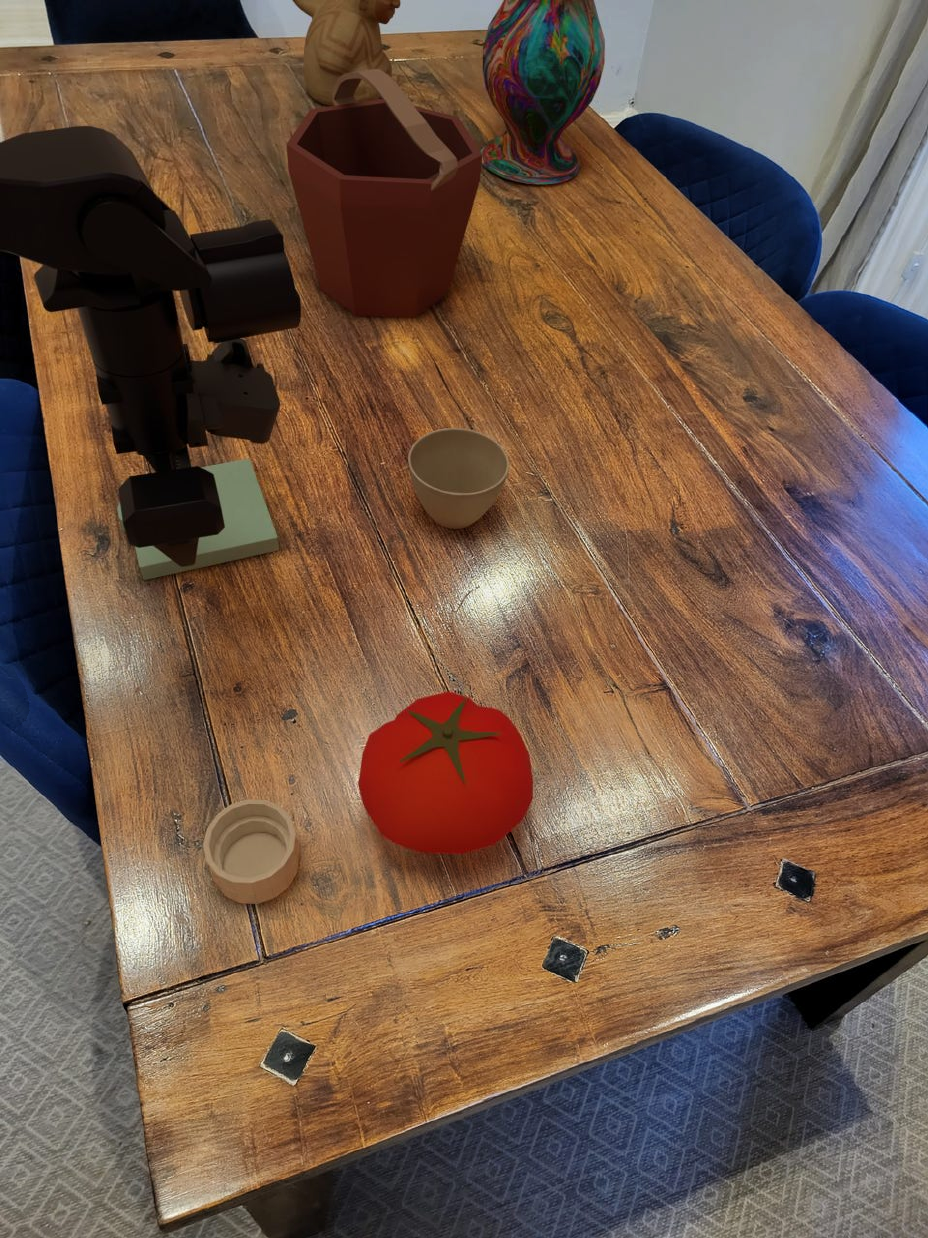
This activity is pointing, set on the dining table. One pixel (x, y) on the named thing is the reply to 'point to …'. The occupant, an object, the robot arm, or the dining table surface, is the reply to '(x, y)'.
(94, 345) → the robot arm
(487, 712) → the tomato
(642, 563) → the dining table surface
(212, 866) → the bowl
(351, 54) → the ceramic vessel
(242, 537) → the scale
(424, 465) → the brown cup
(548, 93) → the vase
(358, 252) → the bucket
